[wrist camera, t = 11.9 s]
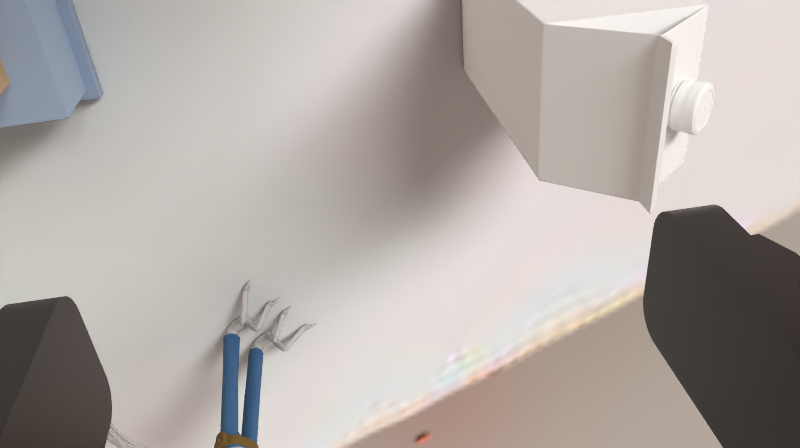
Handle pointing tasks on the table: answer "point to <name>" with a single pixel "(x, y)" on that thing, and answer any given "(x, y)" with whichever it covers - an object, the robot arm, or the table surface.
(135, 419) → the table surface
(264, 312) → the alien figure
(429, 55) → the table surface
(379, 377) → the table surface
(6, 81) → the walnut block
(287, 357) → the table surface
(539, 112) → the milk carton
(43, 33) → the pedestal
